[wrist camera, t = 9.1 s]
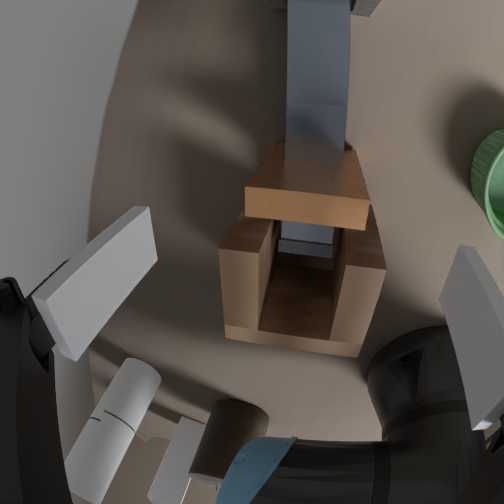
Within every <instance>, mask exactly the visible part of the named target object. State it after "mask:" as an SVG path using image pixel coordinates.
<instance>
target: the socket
mask: <svg viewBox="0 0 504 504" xmlns="http://www.w3.org/2000/svg"><path fill="white" fill-rule="evenodd" d="M281 231H282V220H276V219H267V218H257V217H248V216H245V206H244V208H243V209H242V211H241V212H240V214H239V216H238V217H237V219H236V220H235V222H234V224H233V225H232V227H231V229H230V230H229V232H228V233H227V235H226V237H225V238H224V240H223V242H222V243H221V245H220V246H219V248H218V250H219V264H220V278H221V290H222V303H223V315H224V326H225V337H226V338H229V339H234V340H239V341H245V342H250V343H256V344H262V345H268V346H274V347H280V348H286V349H293V350H300V351H307V352H314V353H322V354H330V355H338V356H347V357H356V358H357V357H358V355H359V352H360V349H361V347H362V344H363V341H364V339H365V336H366V333H367V330H368V327H369V325H370V322H371V319H372V316H373V313H374V310H375V307H376V304H377V301H378V297H379V294H380V291H381V288H382V284H383V281H384V278H385V274H386V271H387V269H386V264H385V259H384V254H383V250H382V245H381V241H380V236H379V232H378V228H377V224H376V220H375V216H374V212H373V208H372V206H369V210H368V216H367V221H366V226H365V231H364V230H357V229H349V228H342V227H334V249H333V255H332V258H325V257H317V256H310V255H302V254H294V253H286V252H278V245H279V237H280V234H281Z"/></svg>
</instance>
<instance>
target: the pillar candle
mask: <svg viewBox="0 0 504 504" xmlns="http://www.w3.org/2000/svg"><path fill="white" fill-rule="evenodd" d="M268 422H269V418H268V416H267V415H266V414H265V413H264V412H263V411H262V410H261V409H260V408H258V407H256V406H254V405H251V404H249V403H245V402H241V401H234V400H221V401H218V402H216V403H215V405H214V407H213V409H212V412H211V415H210V417H209V420H208V422H207V425H206V428H205V430H204V433H203V436H202V438H201V441H200V444H199V446H198V449H197V452H196V454H195V457H194V460H193V462H192V465H191V467H190V470H189V473H188V475H189V476H190V477H191V478H192V479H194V480H196V481H198V482H200V483H203V484H205V485H208V486H211V487H214V488H216V491H217V489H220V487H221V484H222V482H223V480H224V477H225V475H226V473H227V471H228V469H229V467H230V465H231V464H232V462H233V460H234V458H235V457H236V455H237V454H238V452H239V451H240V450H241V448H242V447H243V446H244V445H245V444H246V443H248V442H249V441H250V440H252V439H254V438H257V437H265V435H266V432H267V427H268Z"/></svg>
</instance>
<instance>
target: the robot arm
mask: <svg viewBox="0 0 504 504" xmlns="http://www.w3.org/2000/svg"><path fill="white" fill-rule="evenodd" d="M157 260H158V258H157V253H156V247H155V241H154V235H153V229H152V223H151V216H150V210H149V207H145V206H134V207H133V208H131V209H130V210H129V211H127V212H126V213H125V214H124V215H122V216H121V217H120V218H119V219H117V220H116V221H115V222H114V223H112V224H111V225H110V226H109V227H107V228H106V229H105V230H104V231H103V232H101V233H100V234H99V235H98V236H96V237H95V238H94V239H93V240H92V241H91V242H89V243H88V244H87V245H86V246H85V247H84V248H82V249H81V250H80V251H79V252H78V253H77V254H75V255H74V257H72V258H70V259H69V260H67V261H65V262H63V263H62V264H61V265H60V266H59V267H58V268H57V269H56V270H55V272H54V271H53V272H52V273H51V274H50V275H49V277H48V278H46V279H45V280H44V281H43V282H42V283H41V284H40V285H39V286H37V287H36V288H35V289H34V290H33V291H32V292H31V293H30V294H29V295H28V296H27V297H26V298H24V296H23V294H22V292H21V290H20V288H19V285H18V283H17V281H16V280H15V278H12V277H7V278H3V279H0V504H73V503H72V499H71V495H70V490H69V486H68V481H67V476H66V471H65V466H64V460H63V455H62V448H61V441H60V434H59V425H58V416H57V405H56V391H55V370H54V354H53V351H52V350H51V349H52V347H53V346H54V345H55V344H56V345H57V347H58V349H59V351H60V352H61V354H62V355H63V356H66V357H68V358H70V359H72V360H74V361H77V360H78V359H79V358H80V356H81V355H82V353H83V352H84V351H85V349H86V348H87V347H88V346H89V344H90V343H91V342H92V340H93V339H94V338H95V336H96V335H97V334H98V333H99V331H100V330H101V329H102V327H103V326H104V325H105V324H106V322H107V321H108V320H109V318H110V317H111V316H112V315H113V313H114V312H115V311H116V310H117V308H118V307H119V306H120V305H121V303H122V302H123V301H124V300H125V299H126V297H127V296H128V295H129V294H130V292H131V291H132V290H133V289H134V288H135V286H136V285H137V284H138V283H139V282H140V280H141V279H142V278H143V277H144V276H145V274H146V273H147V272H148V271H149V270H150V268H151V267H152V266H153V265H154V264H155V263H156V261H157ZM439 300H440V303H441V306H442V309H443V312H444V315H445V318H446V321H447V324H448V327H447V326H440V327H431V328H426V329H421V330H418V331H415V332H412V333H409V334H407V335H404V336H402V337H400V338H398V339H396V340H395V341H393V342H391V343H390V344H388V345H387V346H386V347H384V348H383V349H382V350H381V351H380V352H379V353H378V354H377V355H376V356H375V357H374V359H373V360H372V362H371V364H370V366H369V369H368V392H369V395H370V398H371V401H372V403H373V406H374V408H375V411H376V414H377V416H378V419H379V422H380V424H381V427H382V441H319V440H303V439H297V438H298V437H292V438H278V437H257V438H254V439H252V440H250V441H249V442H248V443H246V444H245V445H244V446H243V447H242V448H241V450H240V451H239V452H238V454H237V455H236V457H235V458H234V460H233V462H232V464H231V465H230V467H229V469H228V471H227V473H226V475H225V477H224V480H223V482H222V484H221V487H220V490H219V493H218V495H217V498H216V502H215V504H504V297H503V295H502V293H501V292H500V290H499V288H498V286H497V284H496V283H495V281H494V279H493V277H492V276H491V274H490V272H489V271H488V269H487V267H486V266H485V264H484V262H483V261H482V259H481V257H480V256H479V254H478V253H477V251H476V250H475V248H474V247H470V246H465V245H459V247H458V250H457V253H456V255H455V258H454V261H453V264H452V267H451V269H450V272H449V275H448V277H447V280H446V282H445V285H444V287H443V290H442V292H441V295H440V297H439ZM499 419H500V421H501V427H500V428H499V429H498V430H497V431H496V432H495V433H494V434H493V435H492V436H491V437H489V438H488V439H487V440H486V441H485V435H484V429H489V428H490V427H491V426H492V425H493V424H494V423H495V422H497V420H499ZM490 441H491V443H490V445H489V447H488V449H486V444H488V443H489V442H490Z"/></svg>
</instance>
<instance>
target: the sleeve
mask: <svg viewBox="0 0 504 504" xmlns="http://www.w3.org/2000/svg"><path fill="white" fill-rule="evenodd" d="M264 1H265V2H266V3H267V4H268V5H269V6H270V7H271V8H272V9H273V10H288V0H264ZM380 1H381V0H350V14H352V15H360V16H367V17H370V15H371V14H372V12H373V11H374V9H375V8H376V7H377V5H378V4H379V2H380Z"/></svg>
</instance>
